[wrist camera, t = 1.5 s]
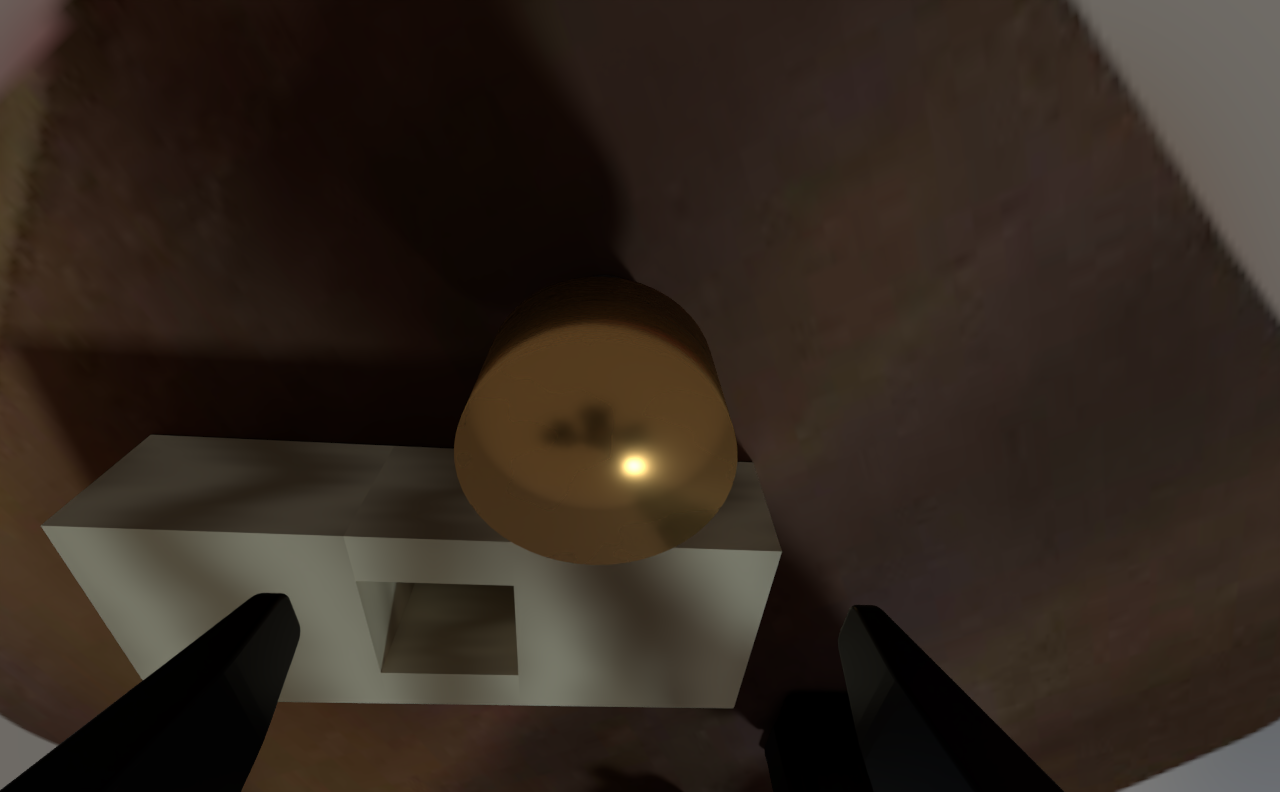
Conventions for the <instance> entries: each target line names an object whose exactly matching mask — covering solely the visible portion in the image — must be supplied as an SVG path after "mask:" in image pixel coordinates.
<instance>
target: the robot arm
mask: <svg viewBox="0 0 1280 792" xmlns="http://www.w3.org/2000/svg"><path fill="white" fill-rule="evenodd" d="M299 639H300V624H299V621H298V619H297V616H296V614H295V611H294V609H293V606H292V603H291V601H290V599H289V597H288V596H287V595H286V594H284V593H259V594H256V595H254V596H252V597H251V598H249V599H248V600H247V601H245V602H244V603H243V604H242V605H240V606H239V607H238V608H236V609H235V610H234V611H233V612H231V613H230V614H229V615H227V616H226V617H225V618H223V619H222V620H221V621H220V622H218V623H217V624H216V625H214V626H213V627H212V628H210V629H209V630H208V631H207V632H205V633H204V634H203V635H201V636H200V637H199V638H197V639H196V640H195V641H194V642H192V643H191V644H190V645H188V646H187V647H186V648H184V649H183V650H182V651H181V652H179V653H178V654H177V655H175V656H174V657H173V658H171V659H170V660H169V661H168V662H166V663H165V664H164V665H162V666H161V667H160V668H158V669H157V670H156V671H155V672H153V673H152V674H151V675H149V676H148V677H147V678H145V679H144V680H143V681H142V682H140V683H139V684H138V685H136V686H135V687H134V688H132V689H131V690H130V691H129V692H127V693H126V694H125V695H123V696H122V697H121V698H119V699H118V700H117V701H116V702H114V703H113V704H112V705H110V706H109V707H108V708H106V709H105V710H104V711H103V712H101V713H100V714H99V715H97V716H96V717H95V718H93V719H92V720H91V721H90V722H88V723H87V724H86V725H84V726H83V727H82V728H80V729H79V730H78V731H77V732H75V733H74V734H73V735H71V736H70V737H69V738H67V739H66V740H65V741H64V742H62V743H61V744H60V745H58V746H57V747H56V748H54V749H53V750H52V751H51V752H50V753H48V754H47V755H46V756H44V757H43V758H42V759H40V760H39V761H38V762H36V763H35V764H34V765H33V766H31V767H30V768H29V769H27V770H26V771H25V772H23V773H22V774H21V775H20V776H18V777H17V778H16V779H14V780H13V781H12V782H11V783H9V784H8V785H6V786H5V787H4V788H3V789H1V790H0V792H241V790H242V788H243V786H244V784H245V781H246V779H247V777H248V775H249V773H250V771H251V769H252V766H253V764H254V762H255V760H256V758H257V755H258V753H259V751H260V748H261V746H262V744H263V741H264V739H265V736H266V733H267V731H268V728H269V725H270V723H271V720H272V717H273V714H274V711H275V708H276V705H277V702H278V700H279V697H280V694H281V691H282V688H283V685H284V682H285V680H286V677H287V674H288V671H289V668H290V665H291V662H292V660H293V657H294V654H295V651H296V648H297V645H298V642H299ZM838 648H839V653H840V658H841V663H842V667H843V672H844V677H845V682H846V686H847V691H848V695H833V694H792V695H789V696H788V697H786V699H785V701H784V704H783V706H782V709H781V711H780V714H779V717H778V719H777V722H776V723H775V725H774V726H773V728H772V731H771V733H770V736H769V738H768V741H767V744H766V746H765V757H766V761H767V763H768V768H769V773H770V778H771V783H772V788H773V792H1064V791H1063V790H1062V789H1061V788H1060V787H1059V786H1058V785H1057V784H1056V783H1055V782H1054V781H1053V780H1052V779H1051V778H1050V777H1049V776H1048V775H1047V774H1046V773H1045V772H1044V771H1043V770H1042V769H1041V768H1040V767H1039V766H1038V765H1037V764H1036V763H1035V762H1034V761H1033V760H1032V759H1031V758H1030V757H1029V756H1028V755H1027V754H1026V753H1025V752H1024V751H1023V750H1022V749H1021V748H1020V747H1019V746H1018V745H1017V744H1016V743H1015V742H1014V741H1013V740H1012V739H1011V738H1010V737H1009V736H1008V735H1007V734H1006V733H1005V732H1004V731H1003V730H1002V729H1001V728H1000V727H999V726H998V725H997V724H996V723H995V722H994V721H993V720H992V719H991V718H990V717H989V716H988V715H987V714H986V713H985V712H984V711H983V710H982V709H981V708H980V707H979V706H978V705H977V704H976V703H975V702H974V701H973V700H972V699H971V698H970V697H969V696H968V695H967V694H966V693H965V692H964V691H963V690H962V689H961V688H960V687H959V686H958V685H957V684H956V683H955V682H954V681H953V680H952V679H951V678H950V677H949V676H948V675H947V674H946V673H945V672H944V671H943V670H942V669H941V668H940V667H939V666H938V665H937V664H936V663H935V662H934V661H933V660H932V659H931V658H930V657H929V656H928V655H927V654H926V653H925V652H924V651H923V650H922V649H921V648H920V647H919V646H918V645H917V644H916V643H915V642H914V641H913V640H912V639H911V638H910V637H909V636H908V635H907V634H906V633H905V632H904V631H903V630H902V629H901V628H900V627H899V626H898V625H897V624H896V623H895V622H894V621H893V620H892V619H891V618H890V617H889V616H888V615H887V614H886V613H885V612H884V611H883V610H882V609H880V608H879V607H877V606H874V605H854V606H852V607H851V608H850V610H849V612H848V614H847V617H846V619H845V621H844V624H843V626H842V629H841V631H840V633H839V638H838Z"/></svg>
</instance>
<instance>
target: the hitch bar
mask: <svg viewBox="0 0 1280 792" xmlns="http://www.w3.org/2000/svg"><path fill="white" fill-rule="evenodd" d="M41 527H42V528H43V530H44V531H45V533H46V534H47V536H48V537H49V539H50V540H51V542H52V544H53V545H54V547H55V548H56V550H57V551H58V553H59V554H60V556H61V557H62V559H63V560H64V562H65V563H66V565H67V566H68V568H69V569H70V571H71V572H72V574H73V575H74V577H75V578H76V580H77V581H78V583H79V584H80V586H81V587H82V589H83V590H84V592H85V593H86V595H87V597H88V598H89V600H90V601H91V603H92V604H93V606H94V607H95V609H96V610H97V612H98V613H99V615H100V616H101V618H102V619H103V621H104V622H105V624H106V625H107V627H108V628H109V630H110V631H111V633H112V634H113V636H114V637H115V639H116V640H117V642H118V643H119V645H120V646H121V648H122V650H123V651H124V653H125V654H126V656H127V657H128V659H129V660H130V662H131V663H132V665H133V666H134V668H135V669H136V671H137V672H138V674H139V675H140V677H141V678H142V680H144V679H145V678H147V677H148V676H149V675H151V674H152V673H153V672H155V671H156V670H157V669H158V668H160V667H161V666H162V665H164V664H165V663H166V662H168V661H169V660H170V659H171V658H173V657H174V656H175V655H177V654H178V653H179V652H181V651H182V650H183V649H184V648H186V647H187V646H188V645H190V644H191V643H192V642H194V641H195V640H196V639H197V638H199V637H200V636H201V635H203V634H204V633H205V632H207V631H208V630H209V629H210V628H212V627H213V626H214V625H216V624H217V623H218V622H220V621H221V620H222V619H223V618H225V617H226V616H227V615H229V614H230V613H231V612H233V611H234V610H235V609H236V608H238V607H239V606H240V605H242V604H243V603H244V602H245V601H247V600H248V599H249V598H251V597H252V596H254V595H256V594H259V593H284V594H286V595H287V596H288V597H289V599H290V601H291V603H292V606H293V609H294V611H295V614H296V616H297V619H298V621H299V624H300V639H299V642H298V645H297V648H296V651H295V654H294V657H293V660H292V662H291V665H290V668H289V671H288V674H287V677H286V680H285V682H284V685H283V688H282V691H281V694H280V697H279V700H278V702H331V703H400V704H469V705H537V706H606V707H674V708H734V706H735V702H736V699H737V696H738V693H739V689H740V686H741V683H742V680H743V676H744V673H745V670H746V667H747V663H748V660H749V657H750V654H751V650H752V647H753V644H754V641H755V637H756V634H757V631H758V628H759V625H760V621H761V618H762V615H763V612H764V608H765V605H766V602H767V599H768V595H769V592H770V589H771V586H772V582H773V579H774V576H775V573H776V569H777V566H778V563H779V560H780V556H781V553H782V550H781V547H780V544H779V541H778V538H777V535H776V531H775V528H774V525H773V522H772V519H771V516H770V513H769V510H768V507H767V504H766V501H765V497H764V494H763V491H762V488H761V485H760V482H759V479H758V476H757V473H756V470H755V466H754V463H752V462H737V468H736V475H735V478H734V481H733V484H732V488H731V490H730V492H729V494H728V496H727V498H726V500H725V502H724V503H723V505H722V506H721V508H720V509H719V511H718V512H717V514H716V515H715V516H714V517H713V518H712V519H711V520H710V521H709V522H708V524H707V525H705V526H704V527H703V528H702V529H701V530H700V531H699V532H697V533H696V534H695V535H693V536H692V537H690V538H689V539H687V540H686V541H685V542H683V543H681V544H679V545H677V546H676V547H674V548H672V549H670V550H667V551H665V552H663V553H660V554H658V555H655V556H652V557H648V558H645V559H642V560H637V561H632V562H627V563H620V564H611V565H587V564H575V563H569V562H563V561H558V560H554V559H551V558H547V557H543V556H541V555H538V554H535V553H533V552H530V551H528V550H526V549H524V548H522V547H520V546H518V545H516V544H514V543H512V542H511V541H509V540H507V539H506V538H504V537H503V536H501V535H500V534H499V533H497V532H496V531H495V530H494V529H492V528H491V527H490V526H489V525H488V524H487V523H486V522H485V521H484V520H483V519H482V518H481V517H480V516H479V515H478V514H477V512H476V511H475V510H474V508H473V507H472V506H471V504H470V503H469V501H468V499H467V498H466V496H465V494H464V492H463V490H462V488H461V485H460V482H459V480H458V477H457V473H456V468H455V463H454V449H450V448H428V447H407V446H385V445H363V444H342V443H320V442H299V441H277V440H255V439H234V438H212V437H190V436H169V435H150V436H149V437H147V438H146V439H145V440H144V441H143V442H141V443H140V444H139V445H138V446H136V447H135V448H134V449H133V450H132V451H130V452H129V453H128V454H127V455H126V456H124V457H123V458H122V459H121V460H120V461H118V462H117V463H116V464H115V465H114V466H112V467H111V468H110V469H109V470H107V471H106V472H105V473H104V474H103V475H101V476H100V477H99V478H98V479H97V480H95V481H94V482H93V483H92V484H91V485H89V486H88V487H87V488H86V489H85V490H83V491H82V492H81V493H80V494H78V495H77V496H76V497H75V498H74V499H72V500H71V501H70V502H69V503H68V504H66V505H65V506H64V507H63V508H62V509H60V510H59V511H58V512H57V513H55V514H54V515H53V516H52V517H51V518H49V519H48V520H47V521H46V522H45V523H43V524H42V525H41Z"/></svg>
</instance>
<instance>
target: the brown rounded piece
mask: <svg viewBox="0 0 1280 792" xmlns="http://www.w3.org/2000/svg"><path fill="white" fill-rule="evenodd" d="M737 460H738V459H737V442H736V437H735V432H734V428H733V425H732V422H731V418H730V415H729V412H728V408H727V405H726V402H725V398H724V395H723V392H722V388H721V385H720V382H719V378H718V375H717V372H716V368H715V365H714V362H713V358H712V355H711V352H710V349H709V346H708V344H707V341H706V339H705V337H704V335H703V333H702V331H701V330H700V328H699V326H698V325H697V324H696V322H695V321H694V320H693V319H692V317H691V316H690V315H689V314H688V313H687V312H686V311H685V310H684V309H683V308H682V307H681V306H680V305H679V304H677V303H676V302H675V301H673V300H672V299H671V298H669V297H668V296H666V295H664V294H663V293H661V292H659V291H657V290H655V289H653V288H651V287H648V286H646V285H643V284H641V283H638V282H634V281H630V280H626V279H623V278H620V277H616V276H611V275H597V276H592V277H584V278H576V279H571V280H567V281H563V282H560V283H557V284H554V285H552V286H549V287H547V288H544V289H543V290H541V291H539V292H537V293H535V294H534V295H532V296H530V297H529V298H528V299H526V300H525V301H524V302H523V303H521V304H520V305H519V306H518V307H517V308H516V309H515V310H514V311H513V312H512V313H511V314H510V315H509V316H508V317H507V319H506V320H505V321H504V323H503V324H502V326H501V327H500V329H499V331H498V333H497V335H496V337H495V339H494V341H493V343H492V345H491V348H490V350H489V353H488V355H487V357H486V360H485V362H484V364H483V367H482V369H481V371H480V374H479V376H478V378H477V381H476V383H475V385H474V388H473V390H472V392H471V395H470V397H469V399H468V402H467V404H466V406H465V409H464V411H463V413H462V416H461V418H460V421H459V424H458V427H457V431H456V436H455V443H454V463H455V468H456V473H457V477H458V480H459V482H460V485H461V488H462V490H463V492H464V494H465V496H466V498H467V499H468V501H469V503H470V504H471V506H472V507H473V508H474V510H475V511H476V512H477V514H478V515H479V516H480V517H481V518H482V519H483V520H484V521H485V522H486V523H487V524H488V525H489V526H490V527H491V528H492V529H494V530H495V531H496V532H497V533H499V534H500V535H501V536H503V537H504V538H506V539H507V540H509V541H511V542H512V543H514V544H516V545H518V546H520V547H522V548H524V549H526V550H528V551H530V552H533V553H535V554H538V555H541V556H543V557H547V558H551V559H554V560H558V561H563V562H569V563H575V564H587V565H611V564H620V563H627V562H632V561H637V560H642V559H645V558H648V557H652V556H655V555H658V554H660V553H663V552H665V551H667V550H670V549H672V548H674V547H676V546H677V545H679V544H681V543H683V542H685V541H686V540H687V539H689V538H690V537H692V536H693V535H695V534H696V533H697V532H699V531H700V530H701V529H702V528H703V527H704V526H705V525H707V524H708V522H709V521H710V520H711V519H712V518H713V517H714V516H715V515H716V514H717V512H718V511H719V509H720V508H721V506H722V505H723V503H724V502H725V500H726V498H727V496H728V494H729V492H730V490H731V488H732V484H733V481H734V478H735V475H736V468H737Z"/></svg>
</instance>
